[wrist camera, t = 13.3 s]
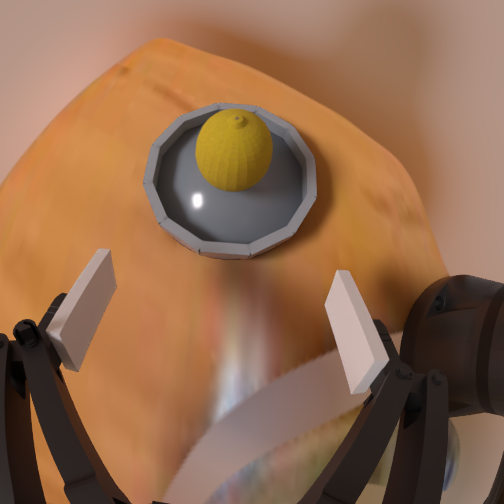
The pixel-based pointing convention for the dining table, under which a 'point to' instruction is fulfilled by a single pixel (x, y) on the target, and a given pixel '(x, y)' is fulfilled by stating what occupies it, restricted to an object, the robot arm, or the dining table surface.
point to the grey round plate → (229, 203)
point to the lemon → (234, 149)
